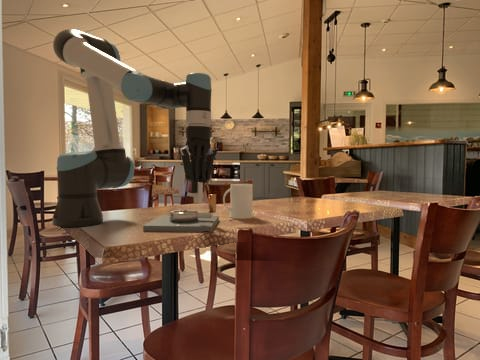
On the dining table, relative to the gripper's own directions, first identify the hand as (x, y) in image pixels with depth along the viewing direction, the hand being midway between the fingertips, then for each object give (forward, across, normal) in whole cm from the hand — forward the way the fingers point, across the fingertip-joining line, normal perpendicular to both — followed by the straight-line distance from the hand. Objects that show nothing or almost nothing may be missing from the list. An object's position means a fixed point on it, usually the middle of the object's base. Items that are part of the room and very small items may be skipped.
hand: (198, 203), depth 113 cm
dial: (+6, +1, +4) cm, 7 cm away
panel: (+8, -1, +6) cm, 10 cm away
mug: (+8, +22, +7) cm, 24 cm away
